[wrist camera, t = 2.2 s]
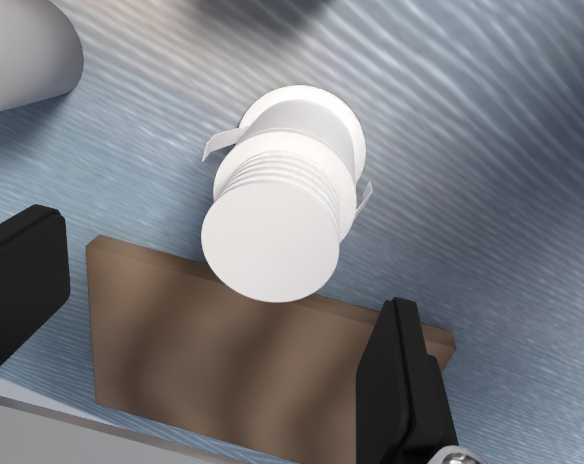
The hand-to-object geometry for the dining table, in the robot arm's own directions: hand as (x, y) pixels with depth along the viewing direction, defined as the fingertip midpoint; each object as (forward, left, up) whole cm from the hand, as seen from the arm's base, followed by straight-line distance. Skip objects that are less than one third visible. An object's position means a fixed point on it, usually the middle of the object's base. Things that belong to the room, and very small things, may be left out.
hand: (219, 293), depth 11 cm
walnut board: (-1, +16, -12) cm, 20 cm away
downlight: (-1, -1, -12) cm, 12 cm away
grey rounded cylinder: (+14, -3, -12) cm, 19 cm away
